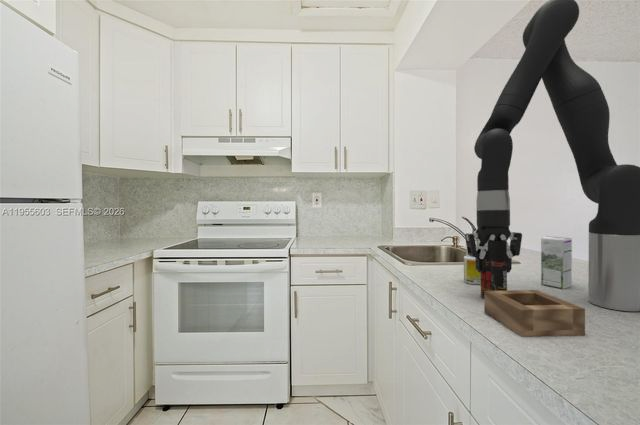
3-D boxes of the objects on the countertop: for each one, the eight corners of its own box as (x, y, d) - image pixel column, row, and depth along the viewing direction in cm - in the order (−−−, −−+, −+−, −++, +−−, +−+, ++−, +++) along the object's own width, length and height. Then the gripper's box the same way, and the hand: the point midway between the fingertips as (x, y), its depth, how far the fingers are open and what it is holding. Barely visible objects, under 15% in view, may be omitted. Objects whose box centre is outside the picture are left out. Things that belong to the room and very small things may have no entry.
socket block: (536, 311, 66) (536, 289, 66) (585, 335, 54) (585, 308, 54) (484, 312, 66) (484, 290, 66) (521, 336, 54) (521, 309, 54)
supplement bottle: (487, 284, 89) (487, 251, 88) (470, 285, 88) (469, 252, 88) (477, 280, 94) (477, 248, 94) (460, 280, 94) (460, 249, 94)
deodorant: (483, 292, 80) (482, 238, 80) (508, 296, 77) (508, 239, 76) (478, 298, 76) (478, 240, 76) (505, 302, 72) (504, 242, 72)
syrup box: (572, 286, 85) (572, 237, 85) (563, 289, 83) (563, 238, 82) (549, 282, 90) (549, 235, 90) (540, 284, 88) (540, 237, 87)
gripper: (510, 207, 80) (511, 268, 80) (458, 208, 79) (459, 270, 80) (530, 207, 72) (531, 275, 72) (473, 209, 72) (473, 276, 72)
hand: (493, 272), depth 76 cm, fingers closed on deodorant, 6 cm apart
